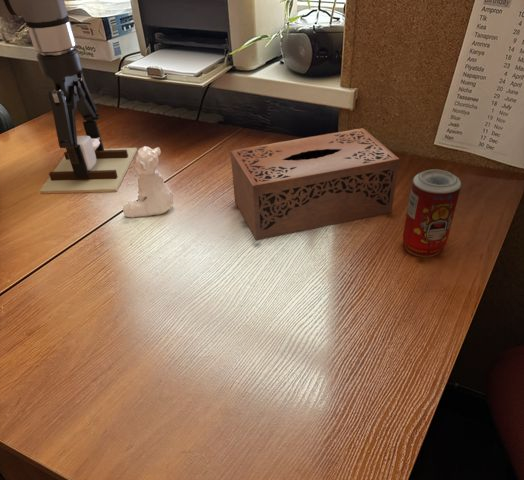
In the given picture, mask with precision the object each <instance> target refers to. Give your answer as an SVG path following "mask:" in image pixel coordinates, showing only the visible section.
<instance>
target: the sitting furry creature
mask: <svg viewBox="0 0 524 480" xmlns="http://www.w3.org/2000/svg"><path fill="white" fill-rule="evenodd" d="M161 154H162V151H161V148H160V147H159V146H158V147H154V148H151V147H149V146H146V145H144V146H142V147H139V148H137V152H136V155H135V164H134V171H136V172H137V175H138V178H137V187H138V189H137V194H138V195H137V200H133V201H129V202H127V204H124V205H123V206H122V212H123V215H124V217H125V218H132V219H134V218H140V217H149V216H156V215H157V216H159V215H163V214H166V213H168V211H169V210H170V209H171V208H173V205H174V194H173V192H172V191H171V190H170V189H169V188H168V185H166V182H164V180H165V179H164V177H162V176H163V175H162V174H161V173H160V172H159V171H158V170H157V169H158V167H159V163H160V162H159V161H160V159H159V157H160V156H161Z"/></svg>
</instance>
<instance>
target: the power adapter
mask: <svg viewBox="0 0 524 480" xmlns="http://www.w3.org/2000/svg"><path fill="white" fill-rule="evenodd" d="M100 137H101V136H100ZM100 137H97V138H96V139H95V138H92V139H91V137H90V136H87V135H77V145H80V147H81V150H82V153H83V156H84V160H85V163H86V166H87V169H88V171H89V170H90V169H91V168H92V167H93V166H94V165H95V164H96V155H95V150H96V149H97V148H98V147H99V145H100V142H99V141H100ZM68 157H69V156H68ZM69 160H70V159H69ZM70 164H71V162H70ZM71 167H72V165H71ZM72 169H73V168H72Z"/></svg>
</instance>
